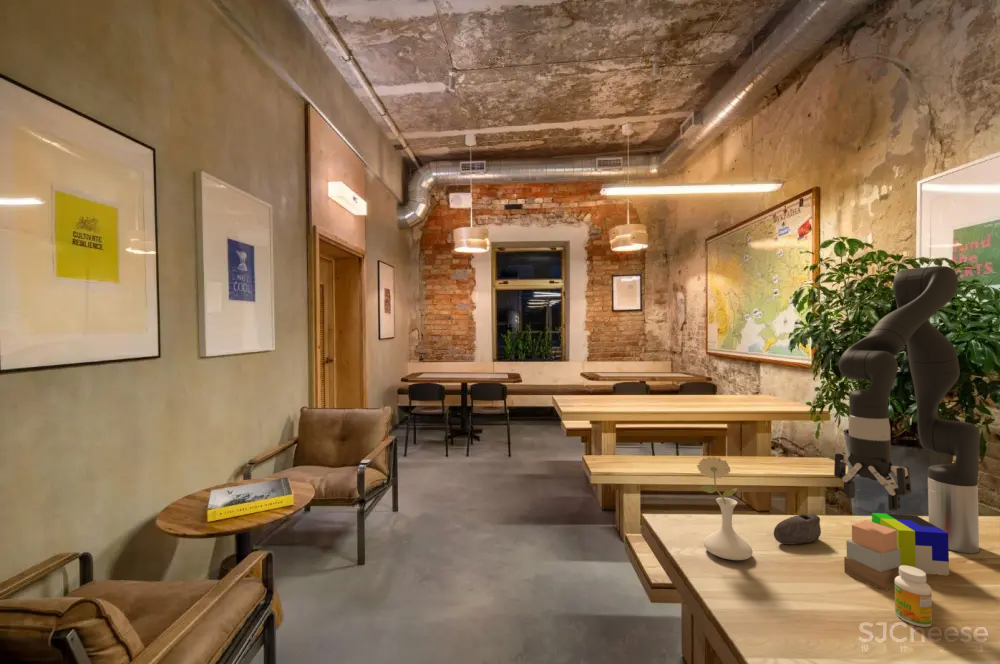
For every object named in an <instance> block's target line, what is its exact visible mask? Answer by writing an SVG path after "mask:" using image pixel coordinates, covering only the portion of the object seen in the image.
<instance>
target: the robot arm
mask: <svg viewBox="0 0 1000 664" xmlns="http://www.w3.org/2000/svg"><path fill="white" fill-rule="evenodd" d="M892 288H893V295H894V298H895V299H894V300H895V302H896V306H897V309H895V310H893V311H891V312H889V313H887V314H886V315H885V316H883V317H882V318H881V319H879V320H878V321H877V322H876V323H875V325H874V326H873V327H872V329H871V331H869V333H868V334H867V336H865V337H863V338H862V339H861V338H860V340H859V341H857V342H855V343H854V344H853V345H851V346H849V348H847V349H846V350H844V352H843V353H842V354H841V356H840V357H839V360H838V370H839V372H840V374H841V375H843V377H845V378H848V379H851V380H858V381H860V380H861V381H870V382H871V383H870V386H868V388H867V389H866V388H865V389H856V390H853V391H852V390H851V392H850V393H849V395H848V396H849V399H848V400H849V401H848V404H849V405H848V406H849V407H848V409H849V410H848V411H849V418H848V429H847V431H848V451H849V455H848V454H847V453H845V452H838V453H835V454H834V468H833V469H834V470H833V473H834V474H833V475H834V477H835V478H839V479H841V480H842V482H843V492H844V495H845V496H846V498H848V499H854V498H856V486H855V485H856V483H855V481H854V480H855V479H856V478H858V476H859V477H861V478H868V479H870V480H871V481H878V483H880V485H881V486H883V487H884V489H885V490H886V491H887V492H888V495H887V496H888V497H887V498H888V499H887V500H888V501H887V502H888V503H887V504H888V511H890V512H897V511H898V510H900V509H901V506H902V505H901V496H905V495H909V494H911V493H912V485H911V484H912V483H911V475H910V468H909V467H908V466H904V465H903V466H897V465H893V463H892V462H891V459H892V441H891V424H890V418H889V417H890V415H889V398H890V395H891V393H892V388H893V384H894V382H895V379H896V377H897V374H898V370H899V364H898V361H897V358H896V357H895V356H897V355H898V354H900V352H902V350H903V348H904V347H905V346H906V349H907V350H906V351H907V357H908V364H909V369H910V375H911V379H912V384H913V388H914V389H913V390H914V394H915V402H916V403H915V404H916V405H915V406H916V418H917V419H916V420H917V421H916V422H917V433H918V439H919V443H920V445H921V447H922V448H923V449H924V450H926V451H929V452H932V453H936V454H941V455H942V454H943V455H946V456H947V455H949V456H952V457H955V462H952V463H947V464H946V463H945V464H934V465H929V467H928V468H927V500H928V501H927V502H928V503H927V504H928V507H927V508H928V522H929V523H931V524H933V525H934V526H936V527H938V528H940V529H941V530H943V531H945V532H947V533H948V545H949V550H950V551H953V552H957V553H958V552H959V553H965V554H976V553H979V552H980V538H979V537H980V532H979V531H980V529H979V528H980V527H979V489H978V488H979V487H978V484H979V481H978V480H979V478H978V477H979V467H980V465H979V461H980V444H981V443H980V441H981V438H980V432H979V429H978V427H977V426H976V425H975V424H974V423H971V422H968V421H967V422H966V421H958V420H952V419H951V420H950V419H944V418H942V419H941V418H940V417H939V414H938V411H939V410H938V408H939V405H940V403H941V402H942V400H943V398H944V397H945V396H946V394H948V393H949V391H950V390H951V389H952V387H953V386H954V385H955V384H956V383H957V381H958V380H959V377H960V375H961V371H960V370H961V368H960V364H959V358H958V351H957V349H956V348H955V346H954V344H953V343H952V341H950V340H949V339H948V338H947V337H946V336H945V335H944V334H943V333H941V332H940V330H938V328H937V327H935V326H934V325H933V324H932V323H931V322H930V321H929V319H930V318H931V317H932V316H934V315H935V314H936V313H938V311H939V310H940V309H942V308H943V307H944V306H945V305H946V304H947V303H949V301H951V300H952V299H953V298H954V296H955V294H956V292H957V289H958V288H959V279H958V275H957V273H956V271H955V270H954V269H953V268H952V267H951V266H946V265H936V266H924V267H916V268H914V267H913V268H908V269H906V268H905V269H902V270H899V271H897V272H896V273H895V275H894V277H893V282H892ZM848 462H849V464H850V466H851V468H850V469H849V470H848V471H847V469H846V468H847V463H848ZM892 472H893V474H894V476H896V478H897V479H896V480H897V482H896V480H895V479H894V477H893V476H892V475H891V473H892Z"/></svg>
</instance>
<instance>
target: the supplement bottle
mask: <svg viewBox="0 0 1000 664" xmlns="http://www.w3.org/2000/svg"><path fill="white" fill-rule="evenodd" d="M899 575H900V576H897V577H896V578H895V587H894V612H895V615H896V616H897V617H898V618H899V617H900V618H901V619H900V618H899V619H900V620H903V621H904V622H906V623H907V624H909V625H914V626H917V627H922V628H928V627H931V626H932V624H933V613H932V612H933V607H932V606H933V600H932V599H933V598H932V592H933V591H932V589H931V586H930V585H929V584H928V583H927V574H926V573H925V572H924V571H922V570H920V569H918V568H915V567H912V566H906V565H902V566H899Z"/></svg>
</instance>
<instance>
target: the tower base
mask: <svg viewBox="0 0 1000 664" xmlns="http://www.w3.org/2000/svg"><path fill="white" fill-rule="evenodd" d="M843 558H844V559H843V561H844V565H843V566H844V574H847V575H849V576H851V577H853V578H855V579H858V580H860V581H862V582H864V583H866V584H869V585H871V586H873V587H876V588H878V589H879V590H882V591H883V592H886V591H888V590H890V589H892V588H895V578H896V577H897V576H900V575H899V567H896V568H893V569H890V570H887V571H883V572H879V571H877V570H875V569H872V568H870V567H868V566H866V565H863V564H861V563H859V562H857V561H854V560H852V559H850V558H847V555H846V556H844V557H843ZM901 566H902V565H901Z"/></svg>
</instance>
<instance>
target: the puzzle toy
mask: <svg viewBox="0 0 1000 664" xmlns="http://www.w3.org/2000/svg"><path fill="white" fill-rule="evenodd" d="M871 522H873V523H876V524H879V525H883V526H886V527H889V528H892V529H895V530H897V548H900V561H901V565H906V566H912V567H915V568H918V569H920V570H922V571H924V572H925V573H926V575H935V574H938V576H948V575H949V576H950V554H949V553H950V552H949V545H948V533H947V532H945V531H943V530H941V529H940V528H938V527H936V526H934V525H933V524H931V523H929V521H927V520H926V519H923V518H921V517H920V516H918V515H915V514H913V515H912V514H897V513H896V514H895V513H879V512H872V513H871Z"/></svg>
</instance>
